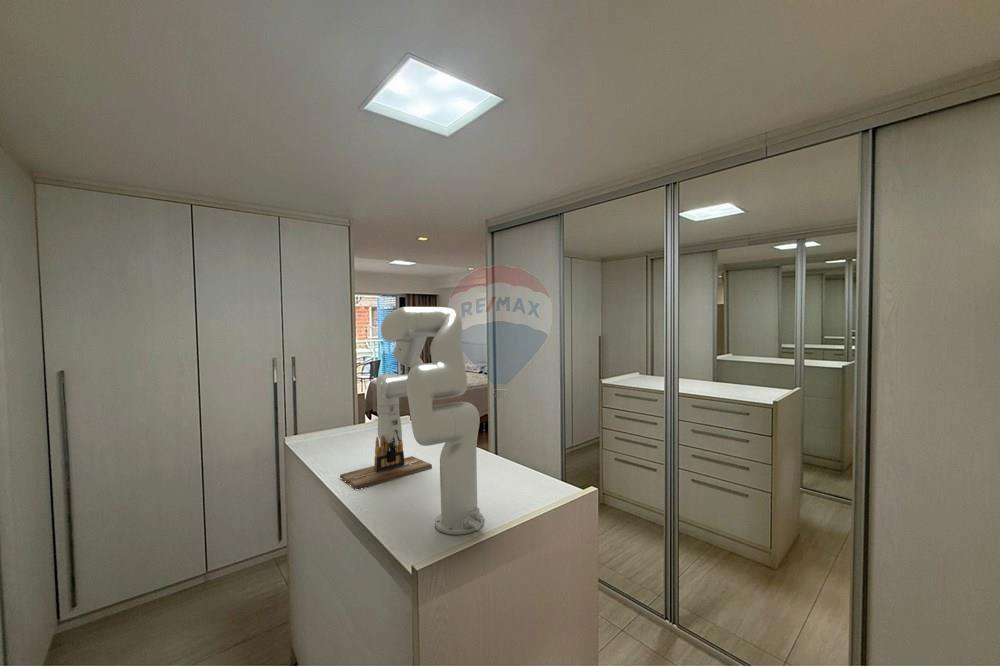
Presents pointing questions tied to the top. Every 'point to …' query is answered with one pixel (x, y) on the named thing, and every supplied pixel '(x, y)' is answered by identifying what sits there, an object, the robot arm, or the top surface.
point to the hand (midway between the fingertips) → (389, 460)
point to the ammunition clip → (382, 456)
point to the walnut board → (384, 473)
